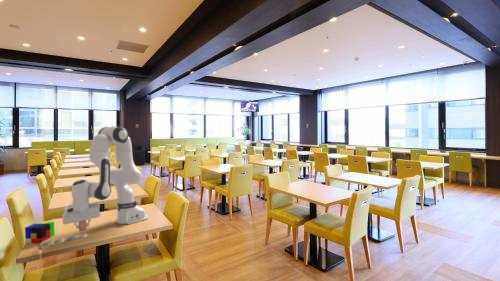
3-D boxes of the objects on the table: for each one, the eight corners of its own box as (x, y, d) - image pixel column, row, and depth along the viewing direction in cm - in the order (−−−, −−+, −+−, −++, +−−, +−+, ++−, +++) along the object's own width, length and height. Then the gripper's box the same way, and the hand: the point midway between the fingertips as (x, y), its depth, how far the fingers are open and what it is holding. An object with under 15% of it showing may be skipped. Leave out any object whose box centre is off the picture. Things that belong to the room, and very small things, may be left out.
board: (87, 234, 173) (87, 232, 173) (89, 238, 167) (89, 236, 167) (38, 245, 157) (38, 242, 157) (38, 250, 151) (38, 247, 151)
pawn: (86, 228, 171) (85, 215, 170) (86, 230, 168) (85, 217, 167) (79, 229, 169) (78, 216, 168) (79, 231, 166) (78, 218, 165)
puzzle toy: (25, 243, 159) (25, 227, 159) (39, 236, 169) (38, 221, 169) (42, 244, 159) (41, 227, 158) (54, 237, 169) (54, 221, 168)
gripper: (99, 201, 176) (100, 221, 177) (61, 208, 163) (63, 229, 165) (100, 203, 171) (102, 224, 172) (61, 211, 158) (63, 233, 160)
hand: (82, 227), depth 168 cm, fingers closed on pawn, 4 cm apart
